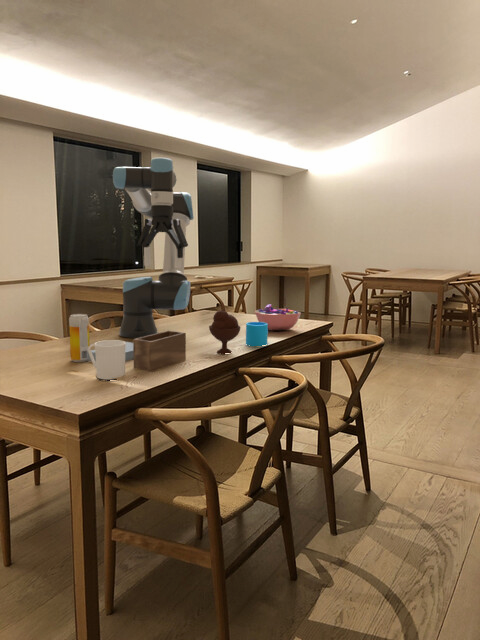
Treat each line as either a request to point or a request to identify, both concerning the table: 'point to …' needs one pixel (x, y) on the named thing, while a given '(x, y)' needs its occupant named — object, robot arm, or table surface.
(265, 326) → the mug
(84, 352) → the beer can
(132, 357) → the lid
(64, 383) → the table surface
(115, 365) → the mug
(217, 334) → the ice cream bowl
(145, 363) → the box
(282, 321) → the cell model
